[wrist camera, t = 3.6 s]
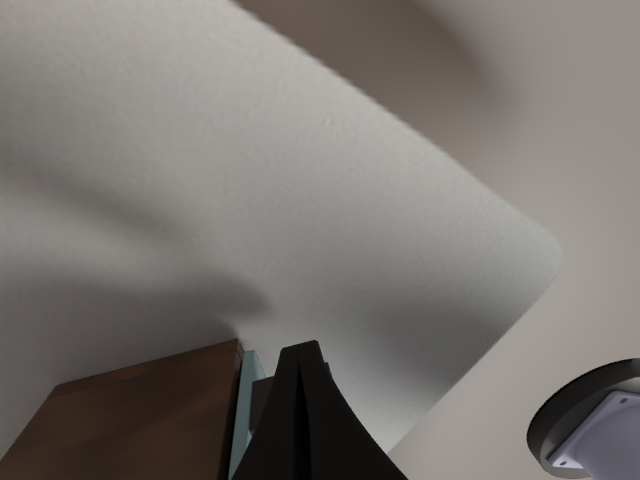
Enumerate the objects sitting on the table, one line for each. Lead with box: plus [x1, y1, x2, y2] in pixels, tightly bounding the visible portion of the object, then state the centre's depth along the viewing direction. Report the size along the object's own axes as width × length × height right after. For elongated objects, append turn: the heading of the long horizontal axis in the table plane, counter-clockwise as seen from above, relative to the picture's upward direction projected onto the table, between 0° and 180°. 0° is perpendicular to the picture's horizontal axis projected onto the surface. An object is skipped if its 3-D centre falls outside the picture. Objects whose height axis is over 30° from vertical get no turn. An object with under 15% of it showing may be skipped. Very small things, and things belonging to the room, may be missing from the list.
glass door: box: [228, 350, 332, 480], centre depth 15 cm, size 4×7×6 cm, turn 12°
